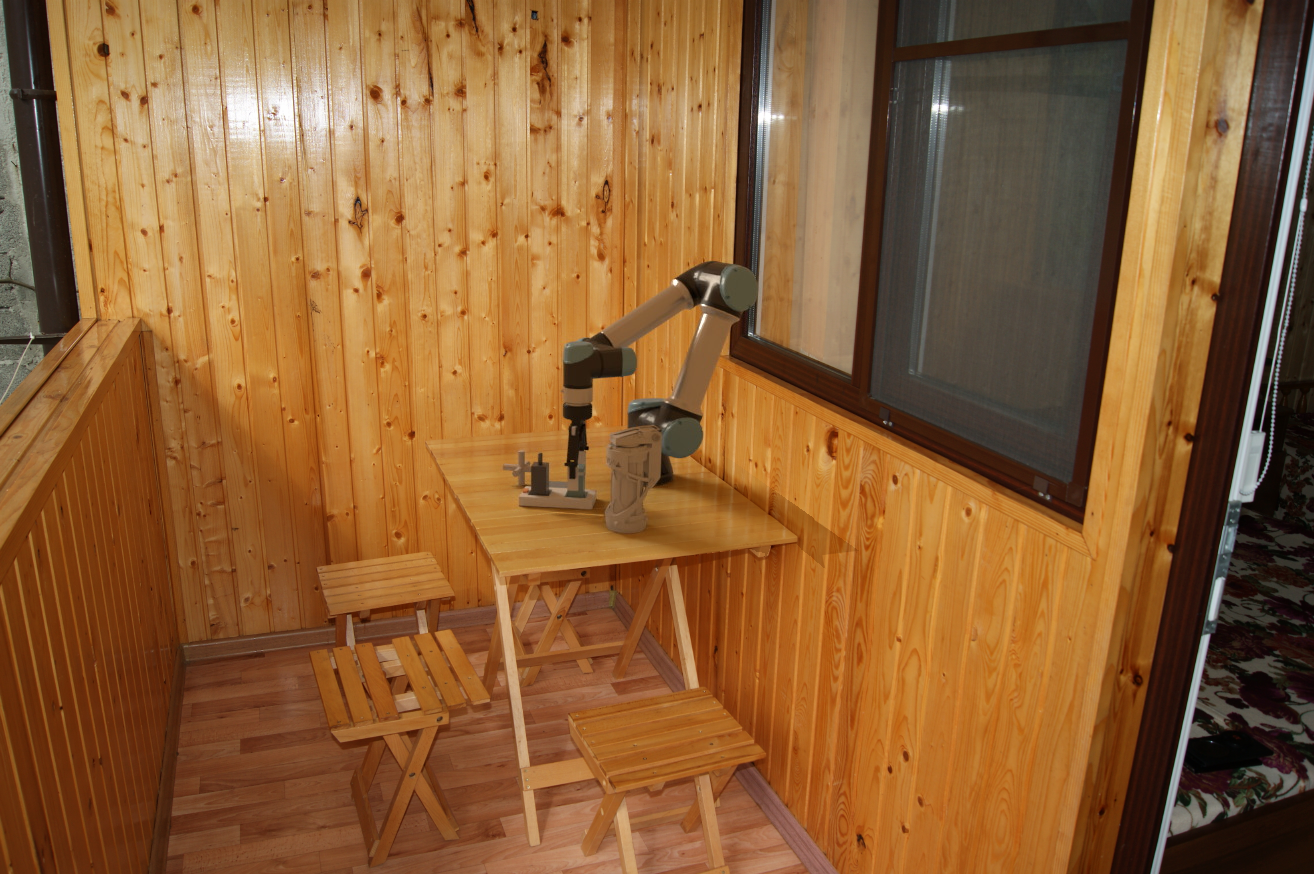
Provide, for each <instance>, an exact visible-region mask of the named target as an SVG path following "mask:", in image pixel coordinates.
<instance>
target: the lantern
mask: <svg viewBox="0 0 1314 874" xmlns="http://www.w3.org/2000/svg"><path fill="white" fill-rule="evenodd" d="M651 426H655V425H648V426H638V427H632V428H628V429H627V428H625V429H621V430H617V431H614V432H610V433H609V443H608V444H607V445H606V462H605V463H606V466H607V468H609V469H610V472H611V473H610V502H609V504H608V505H607V507H606V508H605V510H604V516H605V517H604V518H605V519H604V520H605V525H606V528H607V529H608V530H609V531H611V532H614V533H618V534H635V533H640V532H643V531H644V530H645V529H646V526H647V523H648V516H647V515H646V509H645V508H644V507H643V506H644V500H645V498H646V497H647V495H648V491H649V490H651V489H653V488H654V486H656V485H655V484H656V483H657V481H658V480H659V479H660V474H661V445H662V434H661V433H660V432H659V431H657V430H660V429H659V428H658V427H656V426H655V427H656V428H658V429H655V428H653V427H651Z"/></svg>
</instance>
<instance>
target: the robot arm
mask: <svg viewBox="0 0 1314 874" xmlns="http://www.w3.org/2000/svg"><path fill="white" fill-rule="evenodd" d="M758 294H759V283H758V281H757V279H756V275H755V274H754V273H753V272H752V271H751V269H749V268H747V267H745V266H742V265H739V264H737V263H727V262H722V261H718V260H707V261H704V262H701V263H699V264H697V265H695V266H693V267H692V266H691V268H688V270H686V271H684V272H682V273H681V274H679V275H678V276H676V277H675V278H673V279H672V280H671V281H670V284H669V286H668V287H666V288H665V289H663V290H661V291H660V292H658V293H657V294H656V295H654V296H652V297H651V298H650V299H647V300H646V301H644V302H643V303H642V304H640V305H639V306H637V307H636V308H634V309H632V310H631V311H630V312H628V313H627V314H625V315H623V316H622V317H620V318H619V319H617V320H616V321H614V322H613V323H611V324H610V325H608V326H606V327H605V328H604V329H602V330H600V331H599V332H597V333H596V334H594V335H593V336H591V337H580V338H578V339H577V340H576V341H574V340H573V341H569V342H567V343H565V345H564V347H563V355H562V364H563V365H562V369H563V371H562V372H563V374H562V376H563V377H562V378H563V384H562V385H563V386H562V388H561V390H560V393H561V394H563V395H562V401H563V404H562V417H563V418H564V419H566V420H570V421H571V423H570V424H569V425H568V429H567V430H568V438H567V449H566V450H567V453H566V462H564V467H567V469H566V470H567V475H566V477H567V478H566V480H567V481H566V482H567V490H569V491H578V470H579V466H578V464H585V476H586V475H587V473H586V471H587V468H586V467H587V451H589V449H590V446H588V438H587V424H586V423H587V422H586V421H587V420H589V419H592V417H593V404H592V402H593V400H594V396H593V395H594V379H595V380H596V379H608V378H623V377H628V376H629V377H631V376H632V375H634V374H635V373H636V370H637V367H638V357H637V354H636V351H635V350H634V348H631V347H629V346H632V344H634V343H636V342H637V341H639V340H640V339H641V338H643V337H645V336H646V335H648V334H649V333H651V332H652V331H654V330H655V329H657V328H659V327H660V326H662V325H663V324H664V323H666V322H667V321H669V320H670V319H672V318H673V317H675V316H677V315H678V314H679V313H681V312H682V311H684V310H688V311H689V310H692V309H694V308H695V307H697V306H698V307H699V308H700V311H701V316H700V319H699V320H698V323H697V326H696V329H695V331H694V334H693V336H692V338H691V342H690V345H689V347H688V350H687V352H686V355H685V357H684V360H683V363H682V366H681V368H680V371H679V373H678V375H677V378H676V381H675V384H674V386H673V389H672V392H671V394H670V396H669V397H666V398H662V397H661V398H660V397H649V398H646V397H645V398H638V399H636V398H635V399H633V400H631V401H630V402H628V407H627V413H626V414H627V426H626V427H627V428H626V429H628V428H632V427H638V426H648V425H655V426H656V427H658V428H659V429H660V430H657V431H659V432H660V433H661V434H662V445H661V474H660V479H659V480H658V481H657V483H656V484H655V485H654V486H661V485H665V484H668V483H671V482H672V481H673V479H674V469H673V466H672V462H671V458H674V459H684V458H687V457H689V456H692V455H693V454H695V453H696V452H697V450H699V449H700V447H701V445H702V443H703V439H704V431H703V426H702V424H701V422H702V419H703V417H704V414H703V411H702V408H701V406H702V404H703V401H704V399H705V396H706V393H707V391H708V388H709V386H710V382H711V380H712V378H713V375H714V372H715V370H716V367H717V364H718V362H719V359H720V357H721V354H722V351H723V349H724V346H725V343H726V341H727V338H728V336H729V333H730V330H731V327H732V325H734V323H737V322H739V321H740V320H741V317H742V315H743V312H744V311H747V310H748V309H750V308H752V306H754V304H755V303H756V301H757V300H758ZM655 426H651V427H653V428H655V429H658V428H656V427H655Z"/></svg>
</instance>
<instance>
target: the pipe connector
mask: <svg viewBox="0 0 1314 874" xmlns="http://www.w3.org/2000/svg"><path fill="white" fill-rule="evenodd" d="M525 453H526V451H525V450H524V449H523V450H522V449H521V450H518V451H517V464H515V463H514V464H513V463H503V466H502V470H503V471H511V472H512V474H511V475H512V476H513V477H515V478H517V485H518V486H525V485H526V479H525V478H526V473H531V466H532V465H531V462H530V460H525V459H526V456H525V455H526V454H525Z"/></svg>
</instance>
